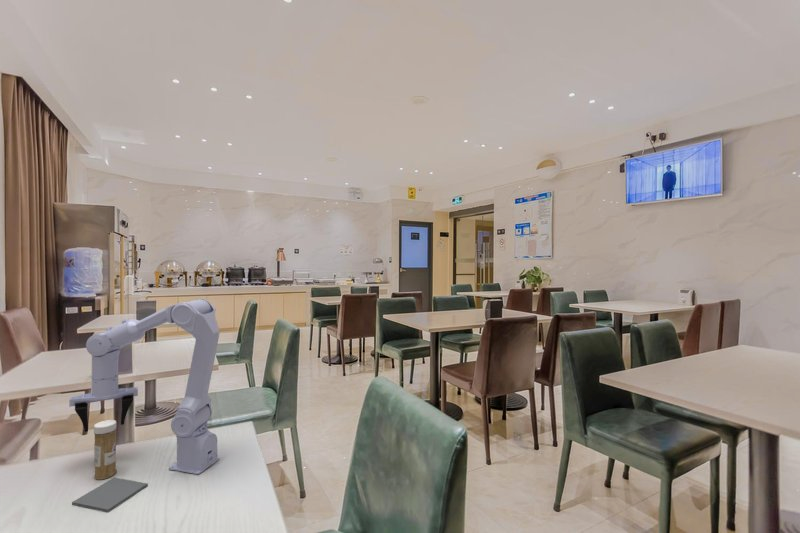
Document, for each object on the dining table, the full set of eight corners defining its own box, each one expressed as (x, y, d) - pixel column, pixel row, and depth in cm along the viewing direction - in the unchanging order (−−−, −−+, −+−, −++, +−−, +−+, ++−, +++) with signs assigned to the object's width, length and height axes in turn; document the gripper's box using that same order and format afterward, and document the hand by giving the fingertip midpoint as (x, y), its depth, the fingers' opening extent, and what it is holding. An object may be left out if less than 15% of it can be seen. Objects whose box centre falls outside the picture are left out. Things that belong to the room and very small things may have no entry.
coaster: (147, 485, 94) (147, 483, 94) (108, 512, 84) (108, 509, 84) (114, 479, 96) (114, 477, 96) (72, 504, 86) (72, 502, 86)
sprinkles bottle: (115, 476, 97) (115, 424, 97) (92, 482, 95) (92, 428, 94) (116, 468, 101) (116, 417, 101) (94, 473, 99) (94, 421, 98)
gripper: (137, 368, 111) (136, 415, 112) (70, 377, 103) (70, 427, 103) (138, 375, 106) (137, 424, 106) (68, 384, 97) (68, 438, 97)
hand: (104, 426), depth 104 cm, fingers open, 7 cm apart
